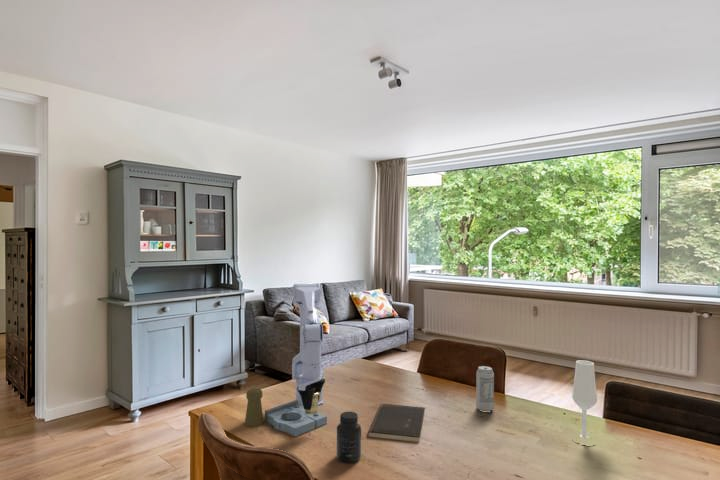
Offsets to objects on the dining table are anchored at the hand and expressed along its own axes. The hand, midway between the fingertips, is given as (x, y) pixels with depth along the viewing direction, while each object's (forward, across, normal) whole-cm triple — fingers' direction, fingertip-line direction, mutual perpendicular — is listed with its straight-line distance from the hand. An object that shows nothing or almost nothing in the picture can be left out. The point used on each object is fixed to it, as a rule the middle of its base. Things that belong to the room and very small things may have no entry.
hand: (311, 405), depth 135 cm
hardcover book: (+9, -16, +24) cm, 30 cm away
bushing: (+2, +1, 0) cm, 2 cm away
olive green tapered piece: (+8, 0, -20) cm, 22 cm away
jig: (+8, -5, -8) cm, 12 cm away
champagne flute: (+8, -23, +80) cm, 84 cm away
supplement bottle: (+8, +11, +16) cm, 21 cm away
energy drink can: (+8, -37, +51) cm, 64 cm away
